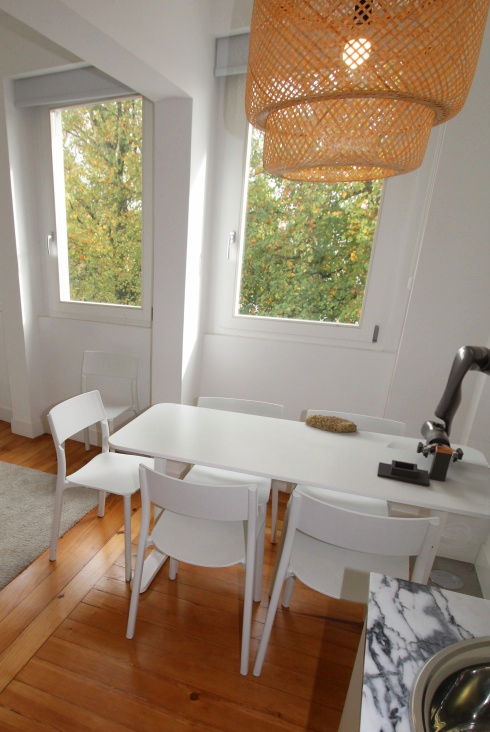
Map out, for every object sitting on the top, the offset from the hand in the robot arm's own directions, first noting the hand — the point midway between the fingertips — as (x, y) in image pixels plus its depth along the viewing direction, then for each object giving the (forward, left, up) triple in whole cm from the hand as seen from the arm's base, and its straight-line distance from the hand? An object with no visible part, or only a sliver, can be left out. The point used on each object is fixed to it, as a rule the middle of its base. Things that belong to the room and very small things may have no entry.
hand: (440, 457), depth 165 cm
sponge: (+44, -23, -7) cm, 50 cm away
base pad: (+9, +8, -7) cm, 14 cm away
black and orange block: (-1, +3, -7) cm, 7 cm away
